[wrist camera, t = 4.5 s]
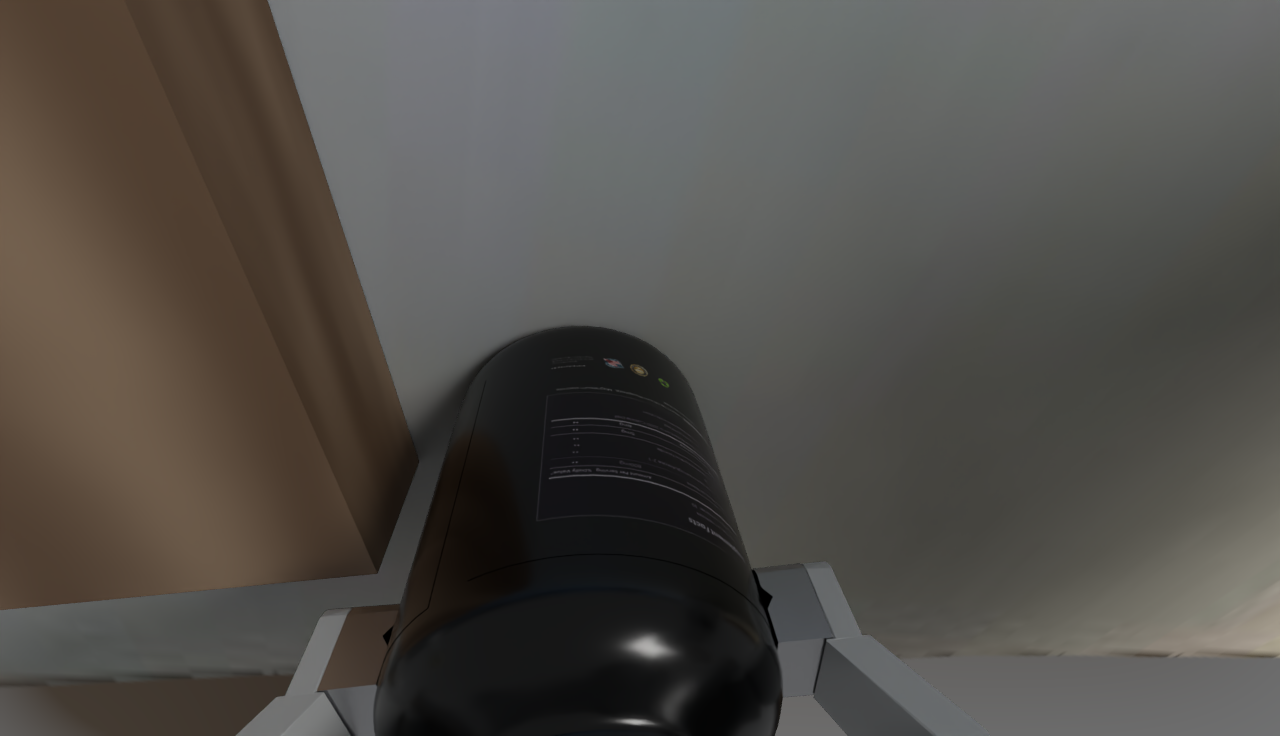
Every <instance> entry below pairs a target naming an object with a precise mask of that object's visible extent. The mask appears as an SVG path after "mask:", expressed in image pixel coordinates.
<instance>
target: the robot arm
mask: <svg viewBox="0 0 1280 736" xmlns="http://www.w3.org/2000/svg"><path fill="white" fill-rule="evenodd" d="M752 572H753V575H754V578H755V581H756V584H757V587H758V590H759V593H760V596H761V600H762V603H763V606H764V609H765V612H766V615H767V618H768V621H769V624H770V627H771V631H772V634H773V637H774V642H775V645H776V649H777V652H778V656H779V660H780V665H781V670H782V676H783V697H792V696H806V695H814V698H815V699H816V701H817V702H818V703H819V704H820V705H821V706H822V707H823V708H824V709H825V711H826V712H827V713H828V714H829V715H830V716H831V717H832V718H833V720H834V721H835V722H836V723H837V724H838V725H839V726H840V727H841V728H842V729H843V730H844V732H845V733H846V734H847V735H848V736H990V734H989V733H988V731H987V730H986V729H985V728H984V727H983V726H982V725H980V724H979V723H978V722H977V721H975V720H974V719H973V718H972V717H970V716H969V715H968V714H967V713H966V712H964V711H963V710H962V709H960V708H959V707H958V706H957V705H956V704H954V703H953V702H952V701H951V700H949V699H948V698H947V697H946V696H945V695H943V694H942V693H941V692H940V691H938V690H937V689H936V688H935V687H934V686H932V685H931V684H930V683H929V682H927V681H926V680H925V679H924V678H922V677H921V676H920V675H919V674H917V673H916V672H915V671H914V670H913V669H911V668H910V667H909V666H908V665H906V664H905V663H904V662H903V661H901V660H900V659H899V658H898V657H897V656H895V655H894V654H893V653H892V652H890V651H889V650H888V649H887V648H885V647H884V646H883V645H882V644H881V643H879V642H878V641H877V640H876V639H874V638H873V637H872V636H871V635H862V633H861V631H860V629H859V627H858V624H857V622H856V620H855V618H854V616H853V613H852V611H851V609H850V607H849V605H848V602H847V600H846V598H845V596H844V594H843V592H842V589H841V587H840V585H839V583H838V581H837V578H836V576H835V574H834V572H833V570H832V567H831V566H830V565H829V564H828V563H827V562H826V561H822V562H813V563H804V564H800V563H797V564H788V565H779V566H770V567H762V568H753V570H752ZM399 606H400V604H392V605H379V606H366V607H351V608H341V609H330V610H326V611H325V612H324V614H323V615H322V616H321V617H320V618H319V620H318V622H317V625H316V627H315V629H314V631H313V634H312V636H311V638H310V640H309V643H308V645H307V647H306V649H305V651H304V654H303V656H302V658H301V660H300V663H299V665H298V667H297V669H296V672H295V674H294V676H293V678H292V681H291V683H290V685H289V687H288V690H287V692H286V694H285V696H279V697H276V698H275V699H274V700H273V701H272V702H271V703H270V704H268V705H267V706H266V707H265V708H264V709H263V710H262V711H261V712H260V713H259V714H258V715H257V716H256V717H255V718H254V719H253V720H252V721H251V722H249V723H248V724H247V725H246V726H245V727H244V728H243V729H242V730H241V731H240V732H239V733H238V734H237V735H236V736H375V732H374V724H373V710H374V699H375V694H376V690H377V685H378V681H379V676H380V672H381V668H382V663H383V660H384V657H385V653H386V650H387V646H388V643H389V640H390V636H391V633H392V630H393V626H394V623H395V620H396V616H397V613H398V610H399Z"/></svg>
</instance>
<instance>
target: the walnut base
mask: <svg viewBox="0 0 1280 736" xmlns="http://www.w3.org/2000/svg"><path fill="white" fill-rule="evenodd" d="M418 463H419V460H418V457H417V454H416V451H415V448H414V445H413V442H412V439H411V436H410V433H409V429H408V426H407V423H406V420H405V417H404V414H403V411H402V408H401V405H400V402H399V399H398V396H397V393H396V390H395V387H394V384H393V381H392V378H391V375H390V372H389V369H388V366H387V363H386V360H385V357H384V354H383V351H382V347H381V344H380V341H379V338H378V335H377V332H376V329H375V326H374V323H373V320H372V317H371V314H370V311H369V308H368V305H367V302H366V299H365V296H364V293H363V290H362V287H361V284H360V281H359V278H358V275H357V272H356V269H355V265H354V262H353V259H352V256H351V253H350V250H349V247H348V244H347V241H346V238H345V235H344V232H343V229H342V226H341V223H340V220H339V217H338V214H337V211H336V208H335V205H334V202H333V199H332V196H331V193H330V190H329V186H328V183H327V180H326V177H325V174H324V171H323V168H322V165H321V162H320V159H319V156H318V153H317V150H316V147H315V144H314V141H313V138H312V135H311V132H310V129H309V126H308V123H307V120H306V117H305V114H304V111H303V108H302V104H301V101H300V98H299V95H298V92H297V89H296V86H295V83H294V80H293V77H292V74H291V71H290V68H289V65H288V62H287V59H286V56H285V53H284V50H283V47H282V44H281V41H280V38H279V35H278V32H277V29H276V26H275V22H274V19H273V16H272V13H271V10H270V7H269V4H268V1H267V0H0V610H6V609H16V608H27V607H37V606H47V605H58V604H68V603H78V602H89V601H99V600H109V599H120V598H130V597H141V596H151V595H161V594H172V593H182V592H192V591H203V590H213V589H223V588H234V587H244V586H255V585H265V584H275V583H286V582H296V581H306V580H317V579H327V578H337V577H348V576H358V575H369V574H377V573H378V571H379V568H380V565H381V563H382V560H383V557H384V555H385V552H386V549H387V547H388V544H389V541H390V539H391V536H392V533H393V530H394V528H395V525H396V522H397V520H398V517H399V514H400V512H401V509H402V506H403V504H404V501H405V498H406V496H407V493H408V490H409V488H410V485H411V482H412V479H413V477H414V474H415V471H416V469H417V466H418Z"/></svg>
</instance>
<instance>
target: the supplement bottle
mask: <svg viewBox="0 0 1280 736" xmlns="http://www.w3.org/2000/svg"><path fill="white" fill-rule="evenodd" d="M782 699H783V676H782V670H781V665H780V660H779V656H778V652H777V649H776V645H775V642H774V637H773V634H772V631H771V627H770V624H769V621H768V618H767V615H766V612H765V609H764V606H763V603H762V600H761V596H760V593H759V590H758V587H757V584H756V581H755V578H754V575H753V572H752V569H751V566H750V563H749V560H748V556H747V553H746V550H745V547H744V544H743V541H742V538H741V535H740V532H739V529H738V526H737V523H736V520H735V516H734V513H733V510H732V507H731V504H730V501H729V498H728V495H727V492H726V489H725V486H724V483H723V480H722V476H721V473H720V470H719V467H718V464H717V461H716V458H715V455H714V452H713V449H712V446H711V443H710V439H709V436H708V433H707V430H706V427H705V424H704V421H703V418H702V416H701V413H700V410H699V407H698V404H697V402H696V399H695V396H694V394H693V392H692V390H691V388H690V386H689V384H688V382H687V380H686V378H685V377H684V375H683V374H682V373H681V371H680V370H679V369H678V368H677V366H676V365H675V364H674V363H673V362H672V361H671V360H670V359H669V358H668V357H667V356H665V355H664V354H663V353H662V352H660V351H659V350H658V349H656V348H655V347H653V346H652V345H650V344H648V343H647V342H645V341H643V340H641V339H639V338H637V337H634V336H632V335H629V334H626V333H624V332H620V331H616V330H613V329H607V328H601V327H591V326H571V327H561V328H555V329H549V330H546V331H542V332H538V333H535V334H533V335H530V336H527V337H525V338H523V339H521V340H519V341H516V342H514V343H513V344H511V345H510V346H508V347H506V348H505V349H503V350H502V351H501V352H499V353H498V354H497V355H495V356H494V357H493V358H492V359H491V360H490V361H489V362H488V363H487V364H486V365H485V366H484V367H483V368H482V369H481V370H480V371H479V372H478V374H477V375H476V377H475V378H474V380H473V381H472V383H471V384H470V386H469V388H468V390H467V392H466V394H465V396H464V399H463V402H462V404H461V407H460V410H459V413H458V416H457V419H456V422H455V425H454V428H453V431H452V434H451V438H450V441H449V444H448V448H447V451H446V454H445V458H444V461H443V464H442V468H441V471H440V474H439V477H438V481H437V484H436V487H435V491H434V494H433V497H432V501H431V504H430V507H429V511H428V514H427V517H426V520H425V524H424V527H423V530H422V534H421V537H420V540H419V544H418V547H417V550H416V554H415V557H414V560H413V563H412V567H411V570H410V573H409V577H408V580H407V583H406V587H405V590H404V593H403V597H402V600H401V603H400V606H399V610H398V613H397V616H396V620H395V623H394V626H393V630H392V633H391V636H390V640H389V643H388V646H387V650H386V653H385V657H384V660H383V663H382V668H381V672H380V676H379V681H378V685H377V690H376V694H375V699H374V710H373V724H374V732H375V736H775V733H776V730H777V727H778V723H779V719H780V713H781V706H782Z"/></svg>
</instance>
